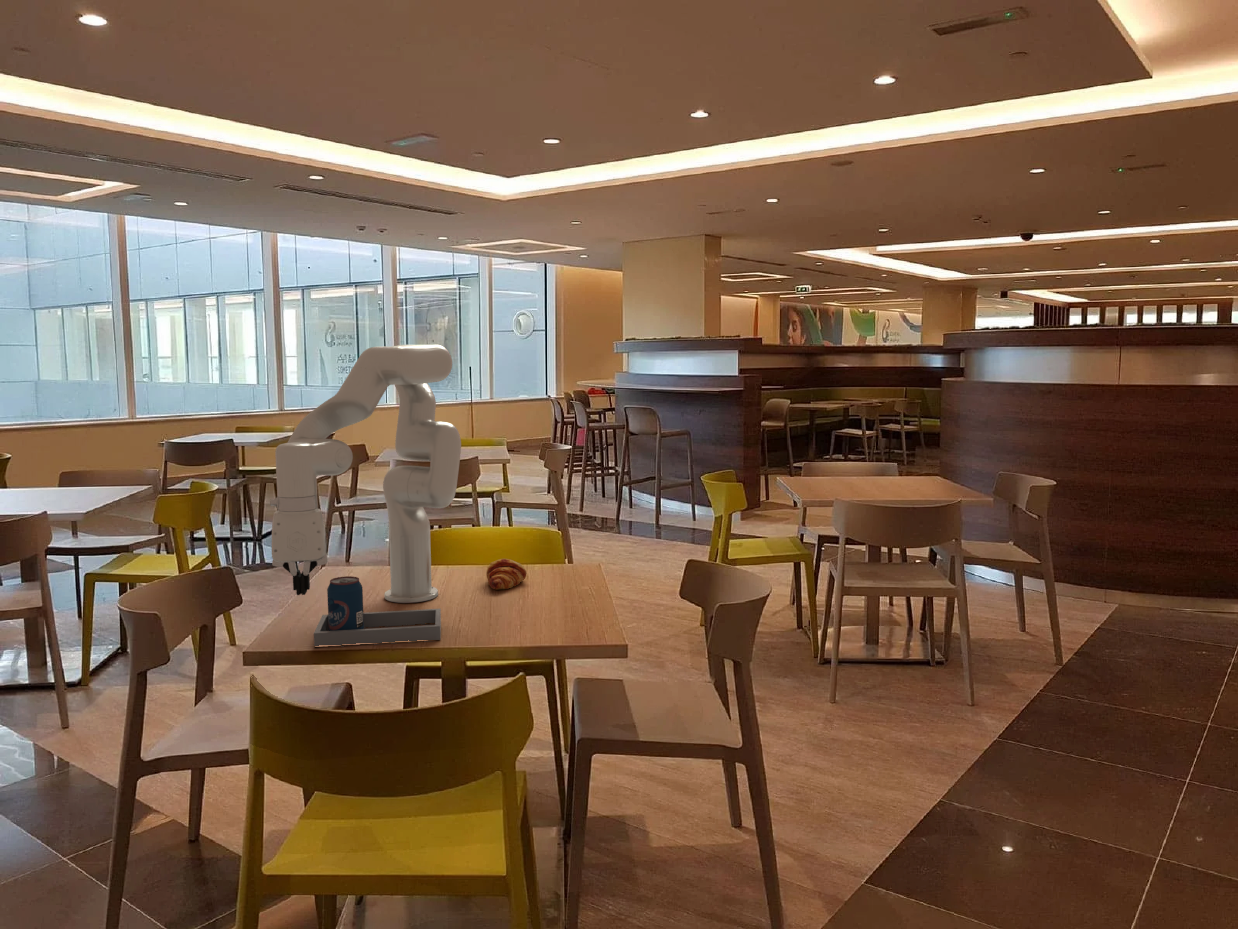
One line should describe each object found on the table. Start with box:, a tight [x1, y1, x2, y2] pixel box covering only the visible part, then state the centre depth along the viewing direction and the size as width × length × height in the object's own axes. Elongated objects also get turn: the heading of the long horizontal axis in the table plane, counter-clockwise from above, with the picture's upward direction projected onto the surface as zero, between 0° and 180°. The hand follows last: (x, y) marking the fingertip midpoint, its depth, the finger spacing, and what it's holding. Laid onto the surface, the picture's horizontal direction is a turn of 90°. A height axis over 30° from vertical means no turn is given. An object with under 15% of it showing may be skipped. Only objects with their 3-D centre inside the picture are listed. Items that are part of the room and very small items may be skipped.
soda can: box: [326, 575, 365, 631], centre depth 183 cm, size 7×7×12 cm
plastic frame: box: [313, 608, 442, 647], centre depth 185 cm, size 13×24×3 cm, turn 101°
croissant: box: [485, 558, 527, 591], centre depth 227 cm, size 21×10×8 cm, turn 175°
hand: (301, 593), depth 181 cm, fingers closed
